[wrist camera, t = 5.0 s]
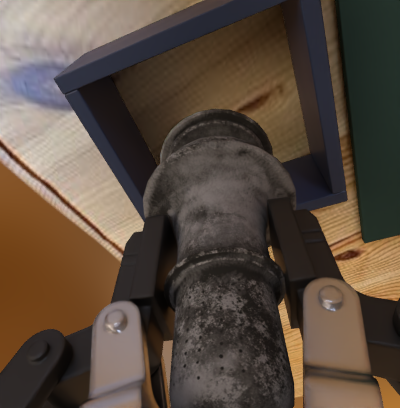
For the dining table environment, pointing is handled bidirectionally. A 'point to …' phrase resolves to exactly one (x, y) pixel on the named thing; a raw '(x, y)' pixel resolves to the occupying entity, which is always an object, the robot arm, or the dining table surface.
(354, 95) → the mat
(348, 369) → the robot arm
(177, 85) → the dining table surface
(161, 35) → the crate
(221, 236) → the grey flared post
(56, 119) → the dining table surface
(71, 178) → the dining table surface
